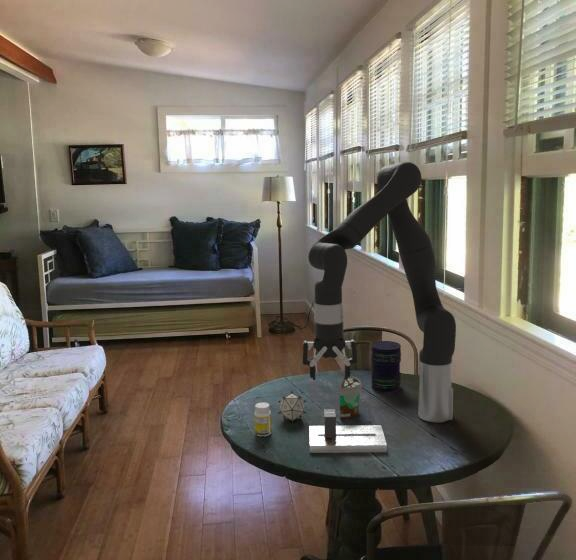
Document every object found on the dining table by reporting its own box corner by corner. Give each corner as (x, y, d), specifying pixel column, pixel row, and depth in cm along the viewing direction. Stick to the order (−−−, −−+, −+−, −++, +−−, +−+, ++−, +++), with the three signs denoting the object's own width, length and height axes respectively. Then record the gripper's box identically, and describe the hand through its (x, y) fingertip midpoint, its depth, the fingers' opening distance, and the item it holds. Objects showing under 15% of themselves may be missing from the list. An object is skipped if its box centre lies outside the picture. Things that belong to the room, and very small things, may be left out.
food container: (360, 422, 168) (360, 390, 166) (339, 421, 169) (339, 388, 168) (363, 406, 180) (363, 375, 178) (344, 404, 181) (343, 374, 180)
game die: (290, 428, 174) (289, 396, 179) (313, 424, 169) (312, 391, 174) (271, 423, 168) (271, 389, 172) (294, 418, 163) (294, 384, 168)
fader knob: (335, 429, 158) (334, 408, 157) (336, 437, 153) (335, 416, 152) (324, 429, 158) (323, 409, 157) (324, 438, 154) (324, 416, 152)
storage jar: (365, 389, 194) (365, 346, 191) (379, 380, 202) (379, 339, 199) (392, 395, 188) (392, 351, 186) (405, 386, 196) (406, 343, 193)
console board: (380, 431, 162) (380, 424, 161) (386, 452, 150) (386, 444, 150) (309, 432, 162) (309, 425, 162) (309, 452, 151) (309, 445, 150)
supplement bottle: (262, 428, 166) (261, 400, 165) (275, 432, 163) (274, 404, 162) (251, 434, 163) (250, 405, 161) (264, 438, 160) (263, 409, 158)
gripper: (354, 315, 154) (355, 373, 157) (301, 316, 154) (303, 374, 157) (357, 322, 146) (358, 383, 149) (301, 323, 147) (303, 384, 150)
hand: (330, 378), depth 153 cm, fingers open, 8 cm apart
